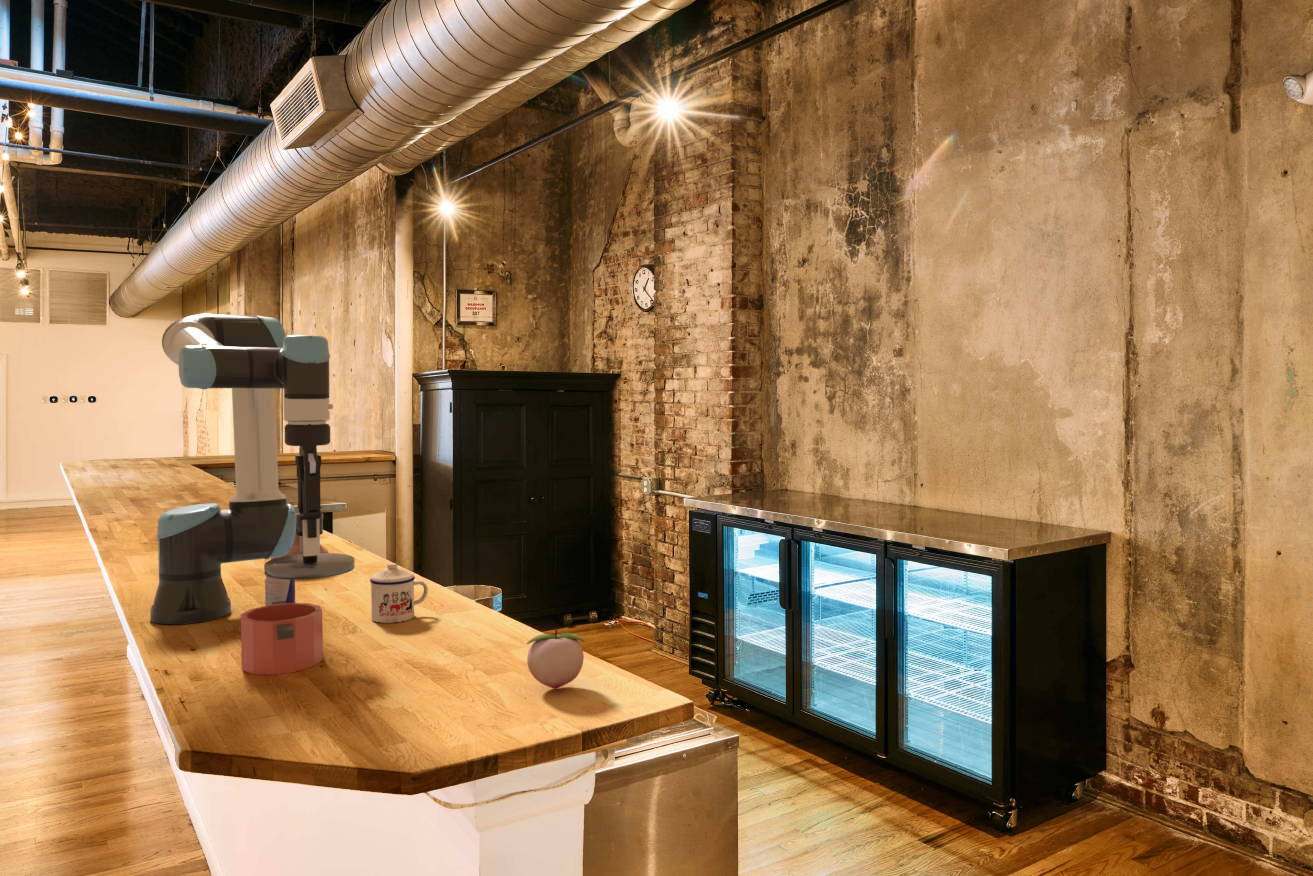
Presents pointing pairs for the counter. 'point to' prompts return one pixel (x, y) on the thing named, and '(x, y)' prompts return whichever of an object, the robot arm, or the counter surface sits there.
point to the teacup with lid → (394, 595)
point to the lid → (309, 562)
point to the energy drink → (279, 590)
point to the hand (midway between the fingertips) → (309, 552)
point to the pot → (281, 638)
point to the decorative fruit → (555, 658)
